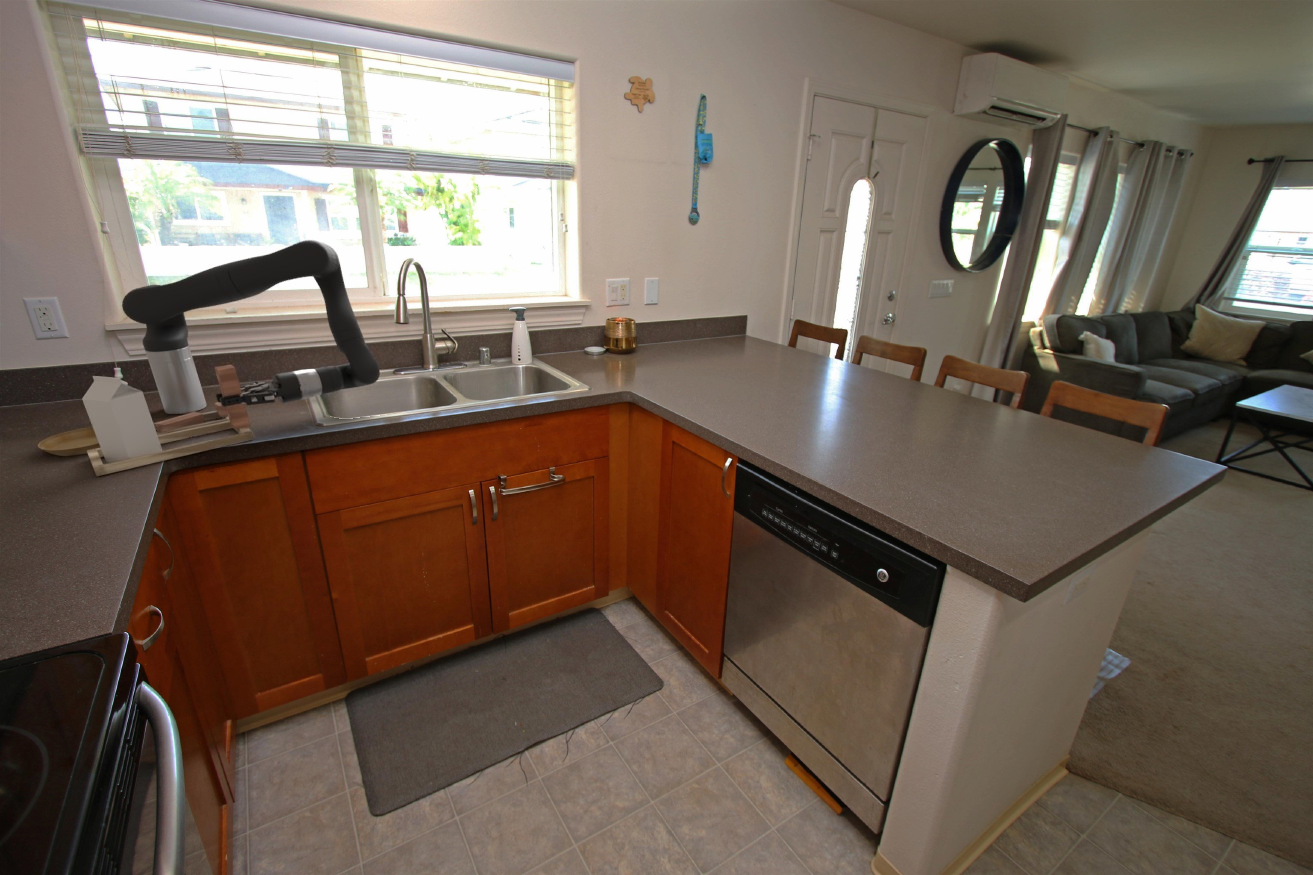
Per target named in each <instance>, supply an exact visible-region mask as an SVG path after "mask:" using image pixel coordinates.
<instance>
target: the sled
mask: <svg viewBox="0 0 1313 875" xmlns="http://www.w3.org/2000/svg"><path fill="white" fill-rule="evenodd" d="M214 371H215V375H216V379H217V380H218V385H219V389H220V393H222V396H223V397H225V396H230V395H236V394H238V395H239V394H240V393H243V391H241V388H240V386H241V384H240V381H239V377H238V374H237V369H236V367H235V366H234V365H232V364H227V365H220V366H214ZM246 406H247V405H246V404H241V403H240V404H235V405H230V406H226V410H227V413H228V417H229V420H228V421H223V422H219V423H214V424H209V425H205V426H200V427H195V428H190V429H186V430H181V431H176V432H171V433H167V434H162V435H157V436H158V439H159V442H160V445H162V444H166V443H172V442H175V441H176V442H177V441H179V440H184V439H185V440H186V439H189V437H190V438H193V437H192V436H194V437H197V436H198V435H199V436H202V434H203V435H207V434H206V433H208V434H211V433H216V432H220V431H225V430H229V429H234V430H235V431H236V432H237V433H236V434H231V435H227V436H223V437H218V438H214V439H210V440H205V441H202V442H201V441H200V442H196V443H192V444H188V445H183V446H179V447H174V448H171V449H165V450H162V451H160V452H156V453H152V454H147V455H143V456H138V457H134V458H130V459H125V460H121V461H116V462H112V463H103V461H102V459H101V458H103V457H104V455H103V452H102V450H101V448H96V449H91V450H87V453H86V454H87V455H88V458H89V460H90V464H91V465H92V468H93V470H94V471H93V472H94V473H95V476H96V477H99V476H103V475H107V474H112V473H117V472H121V471H125V470H130V469H133V468H137V467H142V466H146V465H150V464H154V463H158V462H164V461H167V460H171V459H175V458H180V457H184V456H189V455H193V454H197V453H200V452H205V451H209V450H210V451H211V450H214V448H215V449H219V448H221V447H223V448H224V447H228V446H231V445H235V444H239V443H243V442H248V441H252V440H255V435H254V433H253V431H252V430H251V429H250V428H249V427H251V422H250V417H249V414H248V410H247V407H246Z"/></svg>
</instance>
